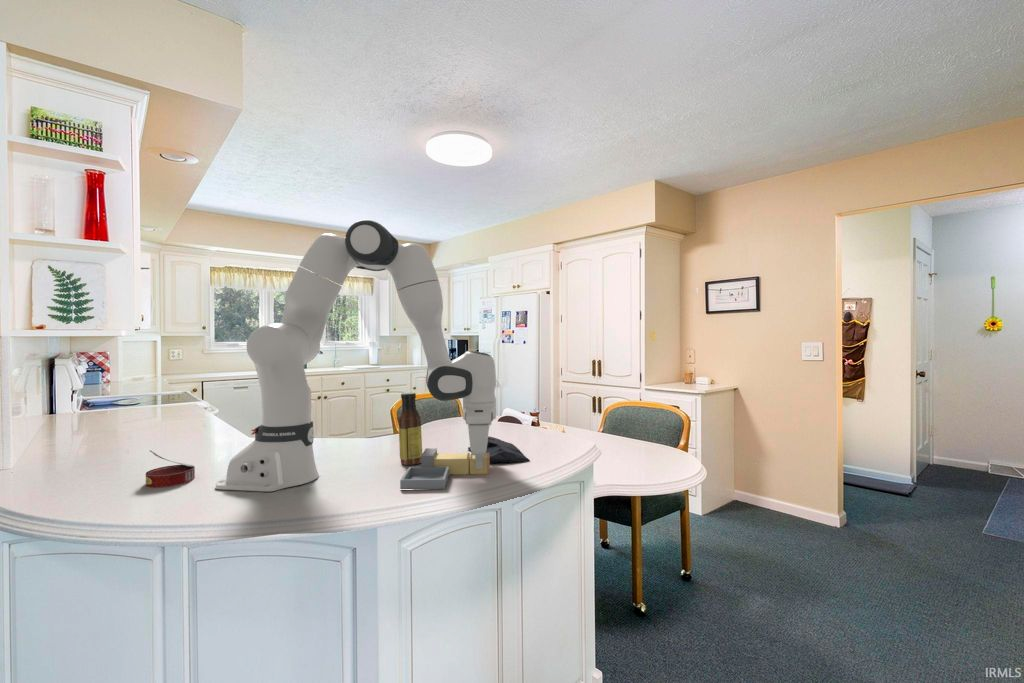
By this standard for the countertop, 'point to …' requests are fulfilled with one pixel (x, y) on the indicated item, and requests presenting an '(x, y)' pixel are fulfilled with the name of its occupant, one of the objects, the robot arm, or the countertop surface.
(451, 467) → the beige boxy piece
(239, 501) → the countertop surface
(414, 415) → the sauce bottle
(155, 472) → the canned food
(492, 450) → the crumpled black cloth
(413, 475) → the tray
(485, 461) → the stub
